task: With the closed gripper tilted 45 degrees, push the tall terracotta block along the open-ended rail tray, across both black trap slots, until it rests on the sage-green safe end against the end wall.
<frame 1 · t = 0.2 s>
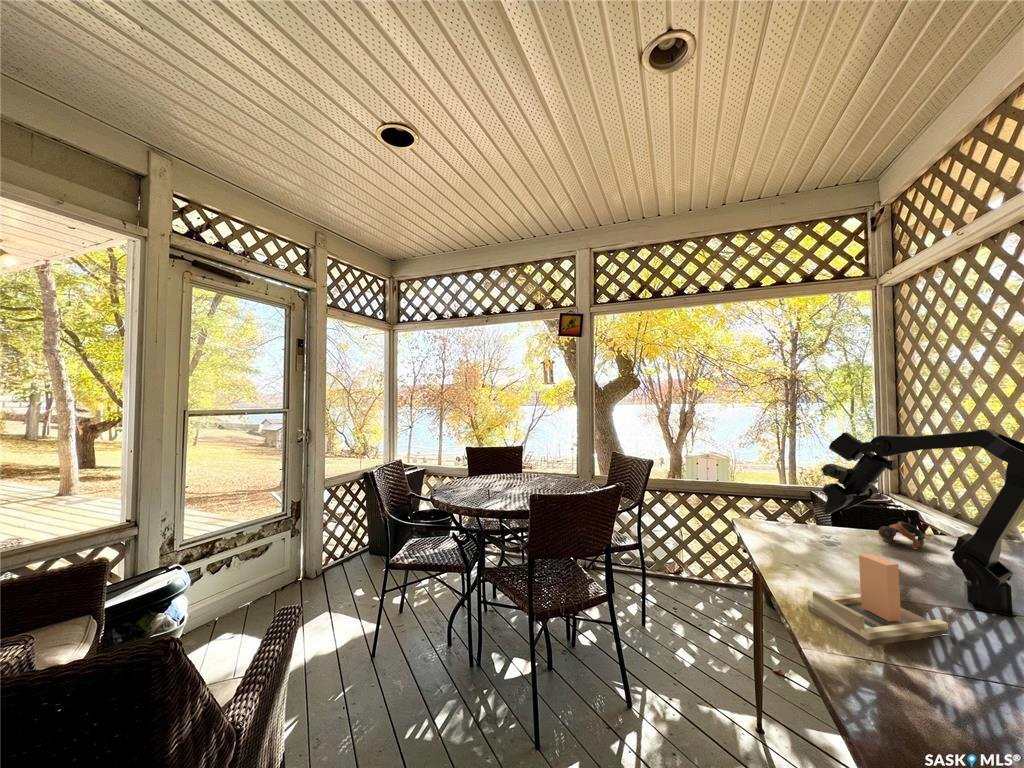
hand: (834, 510, 123), 15 cm above the table, tool tilted 35°, fingers open, 9 cm apart
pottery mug: (899, 545, 134), on the table
tall block: (879, 586, 90), point 8 cm above the table, slide at 0.0 cm
open-ended rail tray: (873, 621, 90), on the table
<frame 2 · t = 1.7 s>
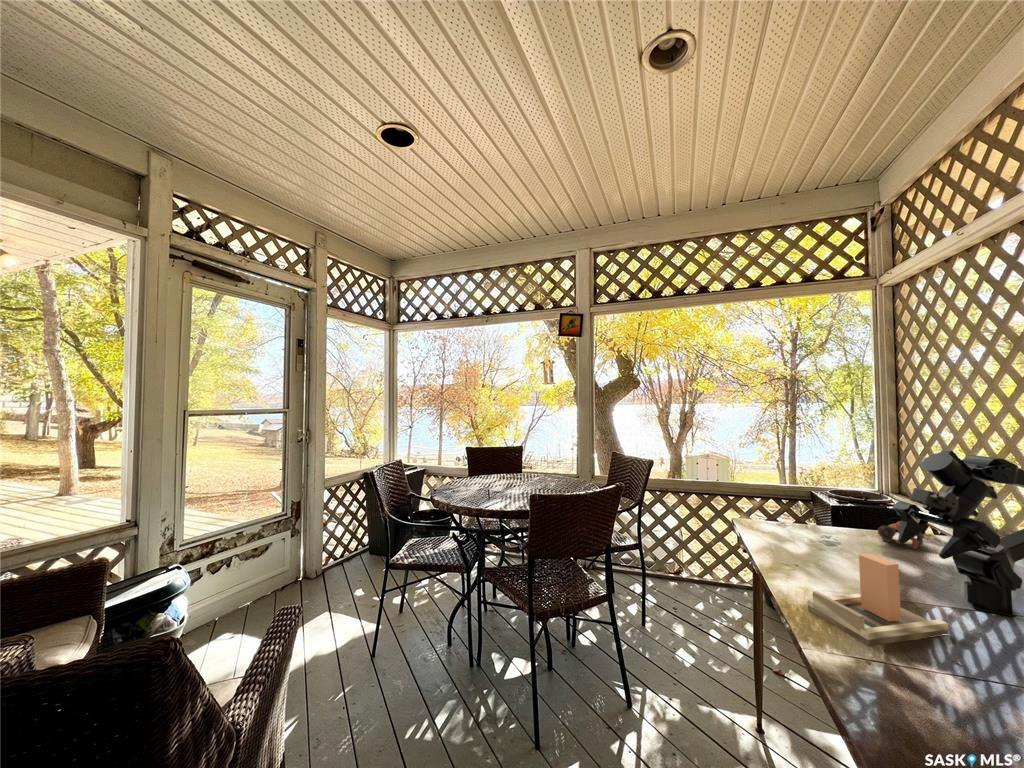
hand: (919, 549, 94), 14 cm above the table, tool tilted 45°, fingers open, 9 cm apart
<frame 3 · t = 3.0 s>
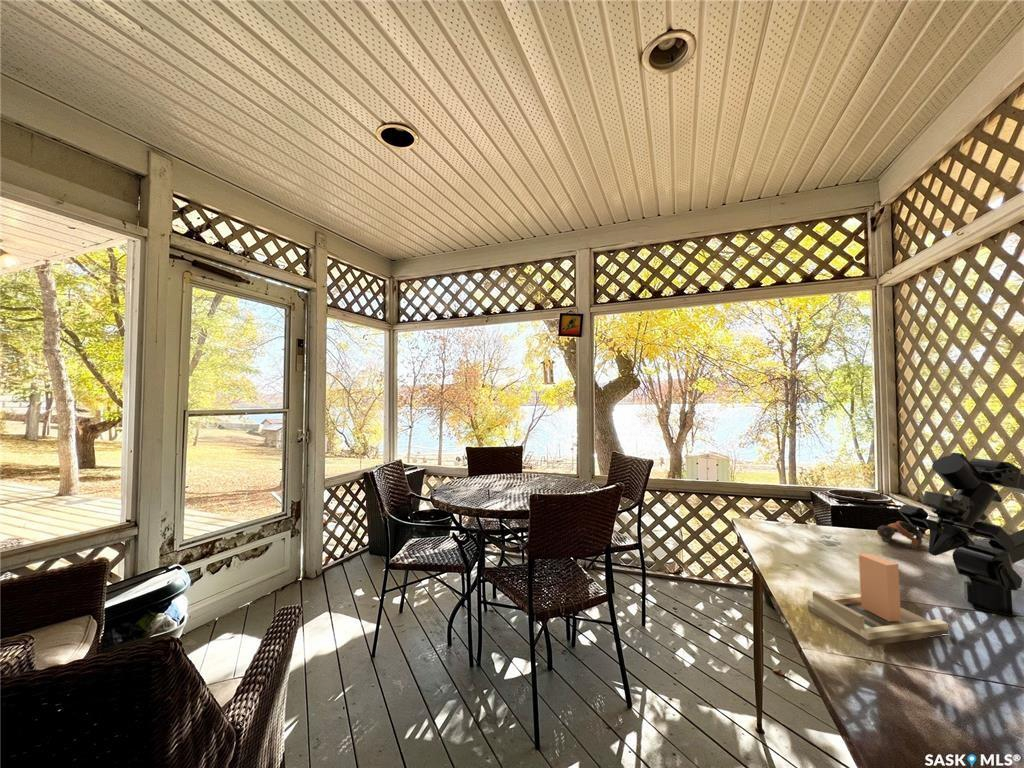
hand: (931, 554, 93), 14 cm above the table, tool tilted 45°, fingers closed
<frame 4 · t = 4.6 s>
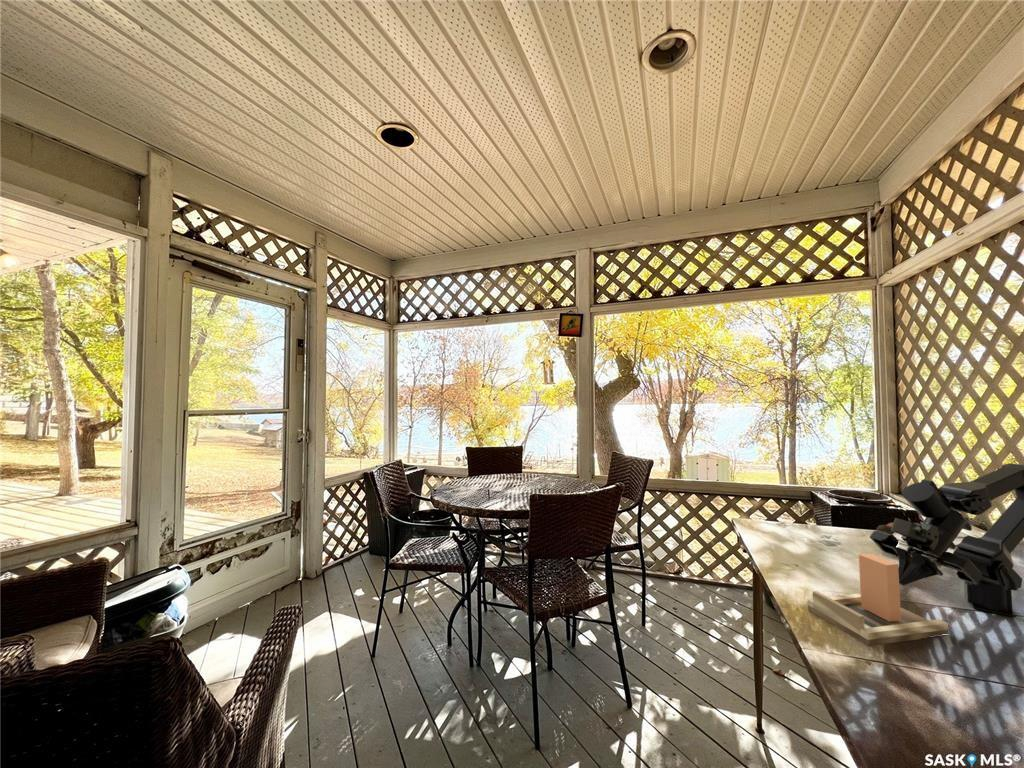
hand: (900, 583, 91), 8 cm above the table, tool tilted 45°, fingers closed
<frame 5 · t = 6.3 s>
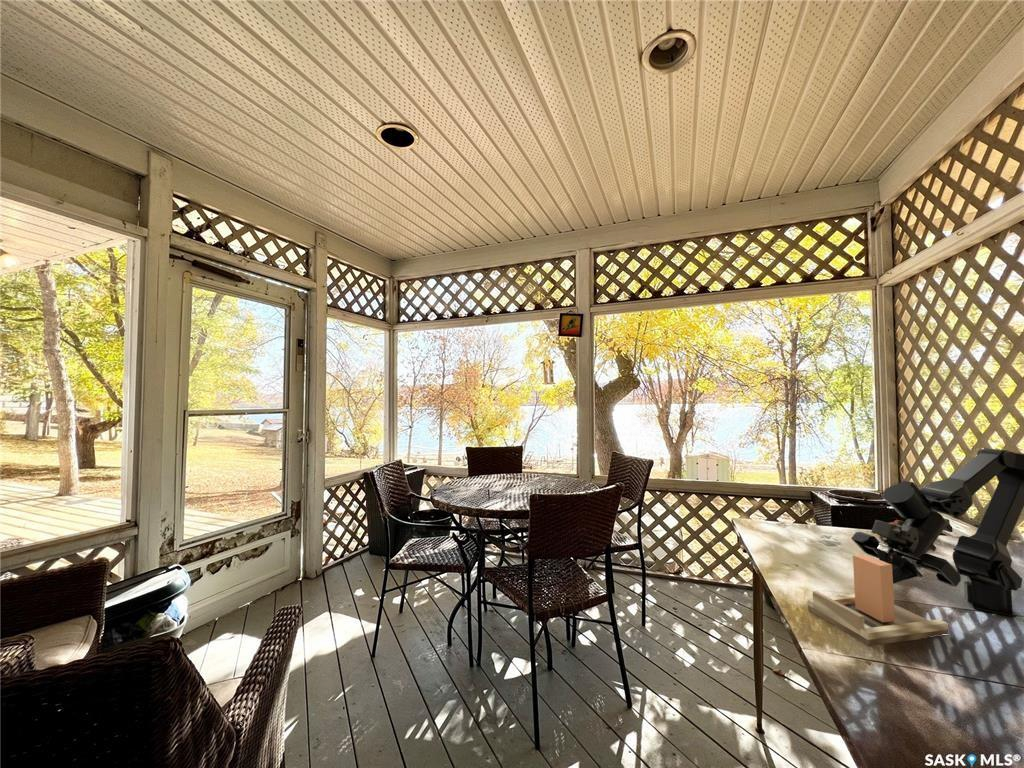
hand: (879, 585, 90), 8 cm above the table, tool tilted 45°, fingers closed, pressing on tall block
tall block: (873, 587, 90), point 8 cm above the table, slide at 1.6 cm, touching gripper
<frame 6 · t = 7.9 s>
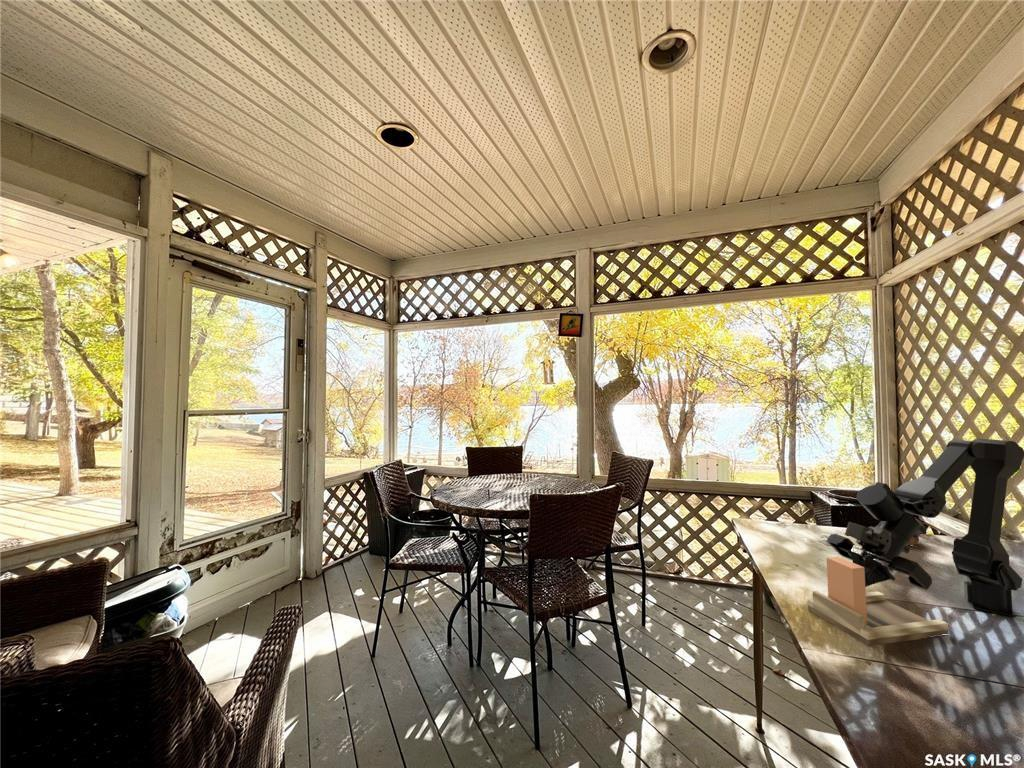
hand: (852, 588, 89), 8 cm above the table, tool tilted 45°, fingers closed, pressing on tall block
tall block: (846, 589, 89), point 8 cm above the table, slide at 8.6 cm, touching gripper
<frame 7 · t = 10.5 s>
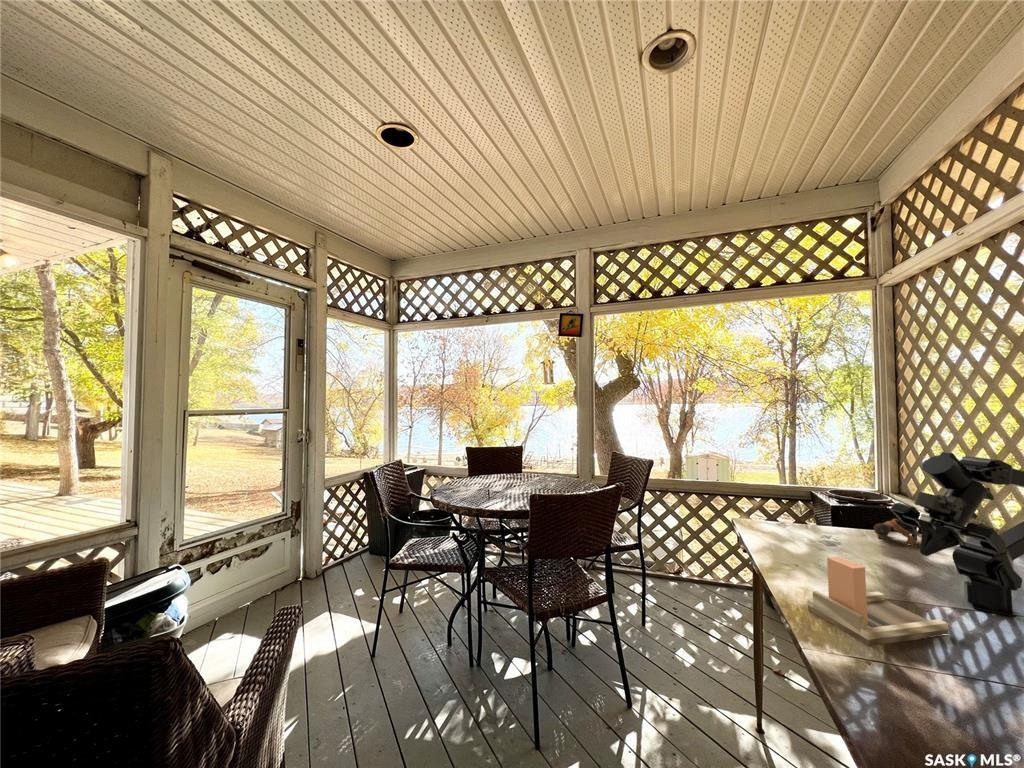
hand: (923, 554, 93), 13 cm above the table, tool tilted 45°, fingers closed
tall block: (846, 589, 89), point 8 cm above the table, slide at 8.4 cm
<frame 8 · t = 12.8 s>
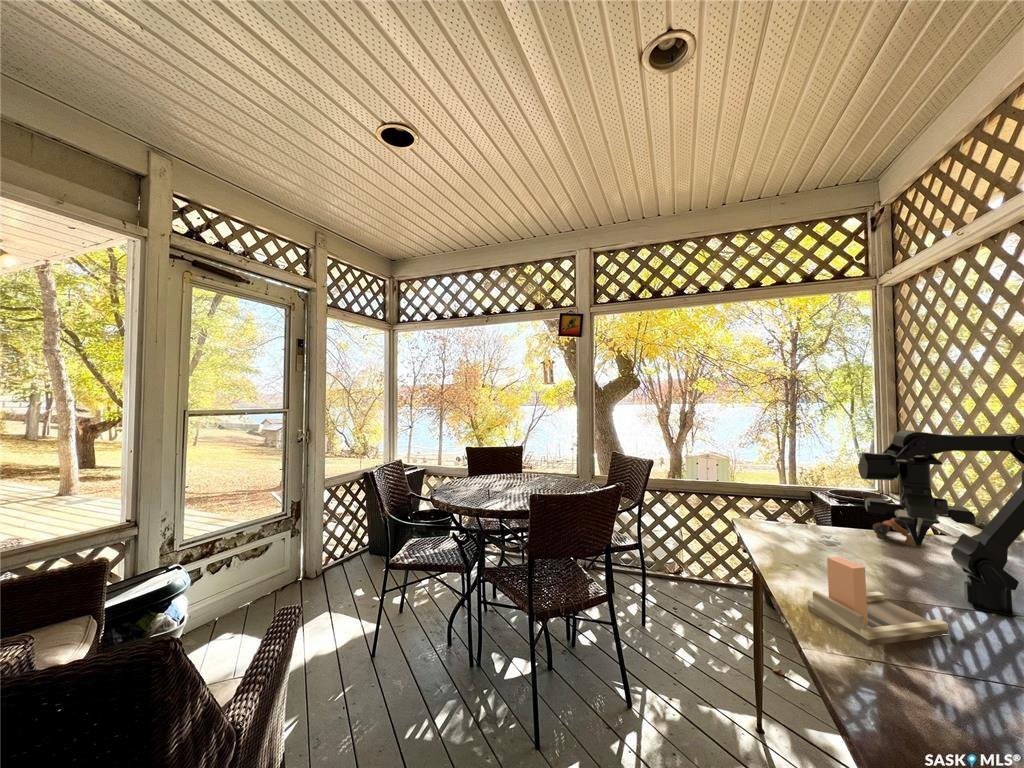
hand: (917, 545, 100), 13 cm above the table, tool pointing down, fingers closed
at the end: tall block slide at 8.4 cm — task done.
